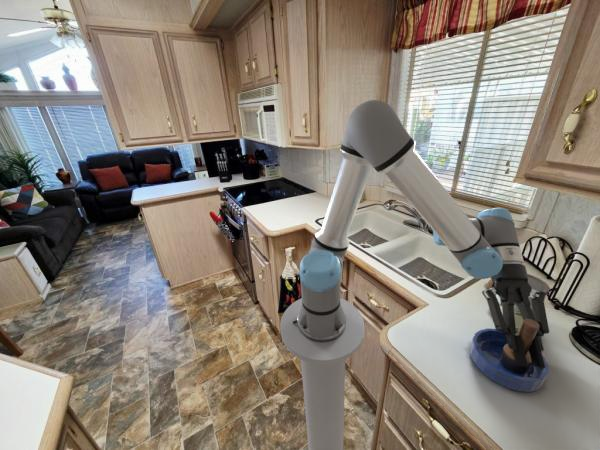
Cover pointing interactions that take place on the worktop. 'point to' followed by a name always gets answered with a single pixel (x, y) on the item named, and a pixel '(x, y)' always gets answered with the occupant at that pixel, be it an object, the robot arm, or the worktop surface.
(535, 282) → the coffee can
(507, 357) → the brush
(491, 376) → the bowl
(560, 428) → the worktop surface
